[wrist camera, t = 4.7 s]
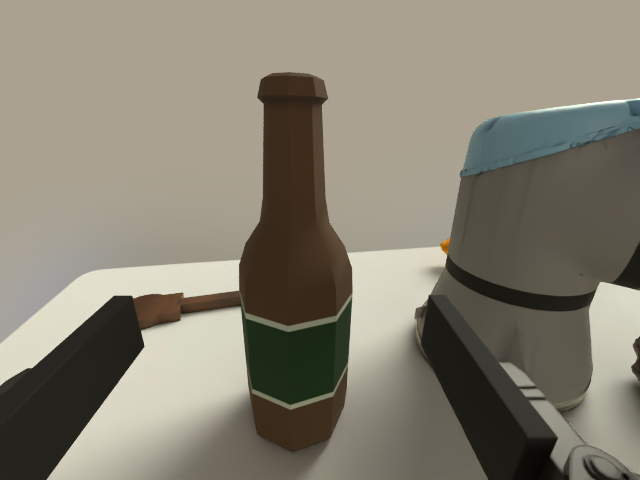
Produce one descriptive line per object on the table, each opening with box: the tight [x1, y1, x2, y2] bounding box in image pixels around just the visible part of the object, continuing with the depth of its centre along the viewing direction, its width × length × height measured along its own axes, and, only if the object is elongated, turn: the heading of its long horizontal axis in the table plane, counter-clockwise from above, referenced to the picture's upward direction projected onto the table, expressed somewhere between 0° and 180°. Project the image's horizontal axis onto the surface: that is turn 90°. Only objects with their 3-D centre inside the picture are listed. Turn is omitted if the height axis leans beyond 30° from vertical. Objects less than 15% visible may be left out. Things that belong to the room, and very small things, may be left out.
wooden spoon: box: [133, 291, 241, 329], centre depth 38 cm, size 20×6×1 cm, turn 107°
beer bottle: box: [239, 72, 352, 452], centre depth 20 cm, size 8×8×24 cm
